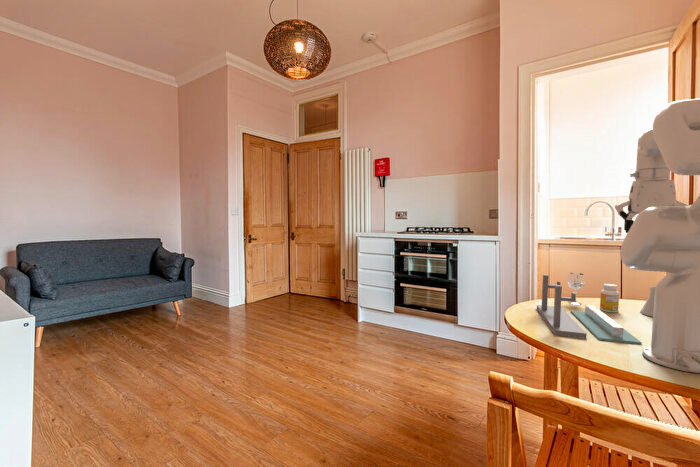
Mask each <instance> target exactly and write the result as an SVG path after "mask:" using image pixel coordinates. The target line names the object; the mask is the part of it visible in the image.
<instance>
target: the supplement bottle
mask: <svg viewBox="0 0 700 467" xmlns="http://www.w3.org/2000/svg"><path fill="white" fill-rule="evenodd" d="M617 290H618V285H617V284H613V283H604V284H603V289H601V290H600V303H599V304H600V306H599V310H600V311H602V312H606V313H618V312H619V305H620V304H619V301H620V292H619V291H617Z"/></svg>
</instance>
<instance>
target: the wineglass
mask: <svg viewBox="0 0 700 467" xmlns="http://www.w3.org/2000/svg"><path fill="white" fill-rule="evenodd" d="M585 284H586V279H585V275H584V273H582V272H569V273H568V276H567V286H568V287H569V288H570V289H573V290H574V291H573V293H575V294H576V295H577V294H578V291H579V290H582V289H584V287H585ZM567 303H568V304H570V305H576V306H579V305H582V302H578V301H577V300H576V301H575V302H569V301H567Z"/></svg>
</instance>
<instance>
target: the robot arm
mask: <svg viewBox="0 0 700 467" xmlns="http://www.w3.org/2000/svg"><path fill="white" fill-rule="evenodd" d="M636 150H637V152H636V154H637V155H636V167H635V171H634V172H630V173H629V174H630V175H629V176H630V178H634V180H633V181H632V184H631V187H630V189H629V195H628V199H627V200H626V201H623V202H621V203H619V204H616V205H615V206H614V209H615V210H616V212H617V214H618V215H619V216H620V217H621V218H622V219H623V220H624V225H623V227H624V228H623V229H624V231H625V233H626V234H625V236H624V239H623V241H622V243H621V247H620V259H621V261H622V263H623V264H624V265H625V267H627V268H629V269H632V270H634V271H645V272H646V271H647V272H659V273H660V272H661V273H667V274H666V275H665V276H663V278H662V279H661V280H659V282H658V283H657V284H656V286H655V287H656V288H655V296H654V310H653V317H652V327H651V340H650V341H651V342H650V343H651V344H650V346H646V347H644V348H643V349H642V355H643V357H645V358H646V359H647V360H649V361H651V362H653V363H654V364H655V363H656V364H658V365H660V366H663V367H667V368H670V369H674V370H678V371H682V372H687V373H694V374H700V194H699V195H698V197H697V198H696V200H695V201H694V202H693V203H692V204H689V205H688V204H686V203H683V202H682V201H680V200H677V191H676V184H675V180H674V179H671V173H674V174H675V175H678V176H700V97H699V98H692V99H681V100H675V101H671V102H670V103H668V104H665V105H664V106H663V107H661V109H660V110H659V111H658V112H657V113H656V115H655V117H654V120H653V124H652V127H651V128H649V129H646V130H645V131H644V132H643V133H642V134H641V135H640V136H639V138H638V140H637V149H636ZM625 207H627V212H626V211H624V208H625ZM633 218H635V219H633Z"/></svg>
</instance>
